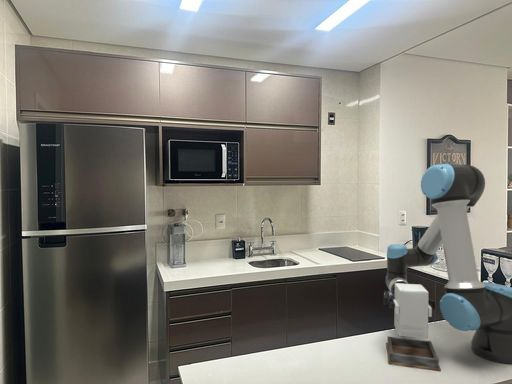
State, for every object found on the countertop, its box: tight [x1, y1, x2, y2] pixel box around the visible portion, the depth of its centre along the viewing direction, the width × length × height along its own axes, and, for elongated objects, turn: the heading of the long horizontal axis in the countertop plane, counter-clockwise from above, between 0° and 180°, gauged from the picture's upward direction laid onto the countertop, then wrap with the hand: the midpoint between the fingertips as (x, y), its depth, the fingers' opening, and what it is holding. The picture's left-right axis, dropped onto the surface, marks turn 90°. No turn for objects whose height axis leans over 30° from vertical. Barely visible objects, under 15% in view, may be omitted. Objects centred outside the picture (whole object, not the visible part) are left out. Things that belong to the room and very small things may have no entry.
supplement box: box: [393, 283, 430, 339], centre depth 118 cm, size 9×9×15 cm
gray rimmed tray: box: [385, 335, 442, 372], centre depth 118 cm, size 15×15×3 cm
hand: (413, 311), depth 113 cm, fingers closed on supplement box, 9 cm apart
